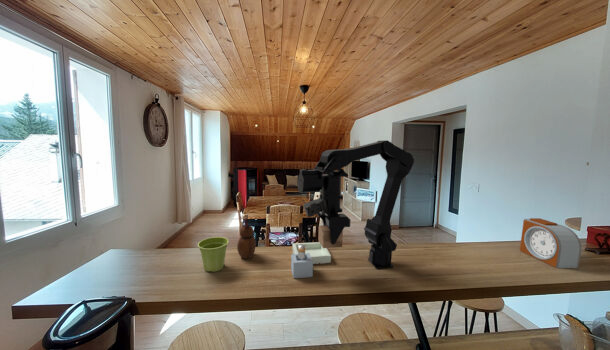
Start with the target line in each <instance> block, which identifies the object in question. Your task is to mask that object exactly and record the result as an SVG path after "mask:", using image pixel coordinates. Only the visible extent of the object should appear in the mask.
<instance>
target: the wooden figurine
mask: <svg viewBox="0 0 610 350" xmlns="http://www.w3.org/2000/svg"><path fill="white" fill-rule="evenodd" d="M253 234H254V228H253V226H252V225H248V219H247V217H245V225H243V226H241V227H240V230H239V235H240V237H239V239H238V242H237V246H236V247H237V253H238V255H239V256H240V257H241V258H242V259H250V258H251V257H253V256H254V253H255V252H256V251H255V250H256V245H257V242H256V237H255V236H254V235H253Z"/></svg>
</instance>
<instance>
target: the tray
mask: <svg viewBox="0 0 610 350" xmlns="http://www.w3.org/2000/svg"><path fill="white" fill-rule="evenodd" d="M300 244H304V245H305V247H306V251H305V253H310V256H311V258H312V260H313V265H319V263H320V264H330V263H332V262H331V261H332V255H331V253H330V251H329V250H328V248H323V247H322V245H321V244H320V242H319V241H316V242H300V243H299V242H296V243H292V249H291V250H292V254H298V245H300Z"/></svg>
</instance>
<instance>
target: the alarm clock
mask: <svg viewBox="0 0 610 350" xmlns="http://www.w3.org/2000/svg"><path fill="white" fill-rule="evenodd" d="M519 246H520V247H519V251H520V252H522V253H524V254H526V255H528V256H530V257H533V258H534V259H537V260H538V261H541V262H543V263H545V264H547V265H549V266H551V267H553V268H556V269H579V267H580V261H581V255H582V242H581V239H580V238H579V236H578V235H577V234H576V232H574V231H573V230H572V229H571V228H569V227H567V226H565V225H561V224H558V223H556V222H553V221H550V220H546V219H543V218H537V217H536V218H535V217H534V218H533V217H530V218H524V219H523V224H522V231H521V237H520V245H519Z"/></svg>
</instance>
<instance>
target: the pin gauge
mask: <svg viewBox="0 0 610 350" xmlns="http://www.w3.org/2000/svg"><path fill="white" fill-rule="evenodd" d="M305 251H306V247H305V245H304V244H300V245H298V261H300V260H305Z"/></svg>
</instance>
